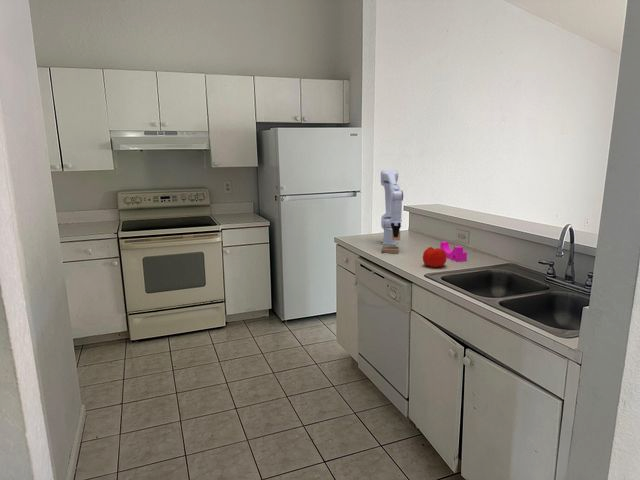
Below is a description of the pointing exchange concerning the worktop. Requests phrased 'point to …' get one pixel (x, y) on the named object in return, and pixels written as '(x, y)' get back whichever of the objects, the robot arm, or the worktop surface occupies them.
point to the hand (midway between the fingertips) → (395, 236)
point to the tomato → (434, 257)
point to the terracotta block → (396, 237)
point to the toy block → (454, 252)
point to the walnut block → (390, 249)
